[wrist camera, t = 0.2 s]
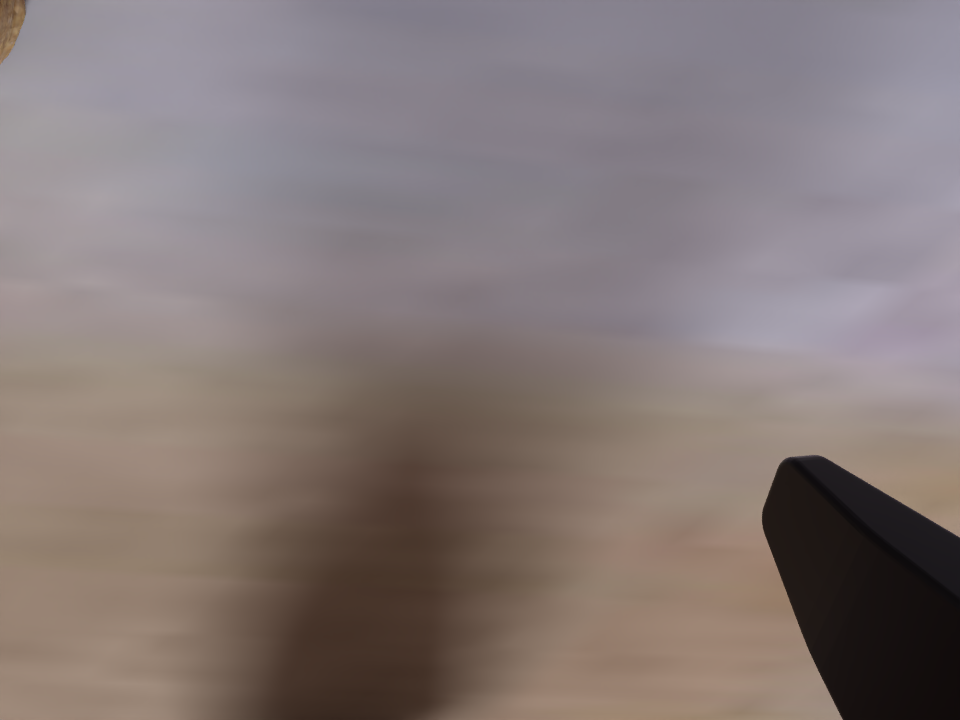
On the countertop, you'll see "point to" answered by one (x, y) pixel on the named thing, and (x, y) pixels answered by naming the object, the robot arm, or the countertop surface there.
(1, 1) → the sprinkles bottle
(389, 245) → the countertop surface
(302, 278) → the countertop surface
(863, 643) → the robot arm
